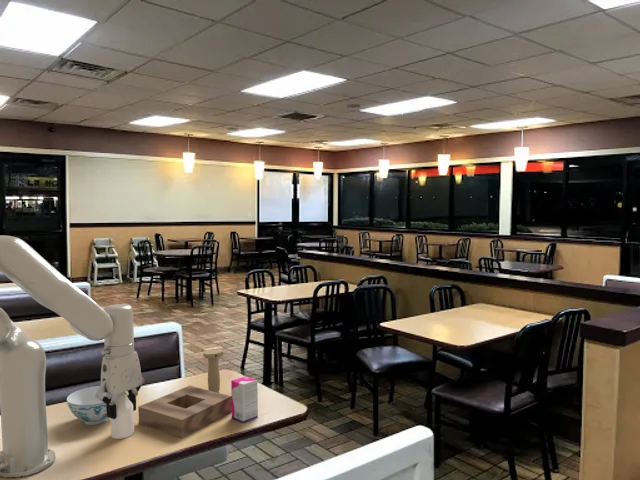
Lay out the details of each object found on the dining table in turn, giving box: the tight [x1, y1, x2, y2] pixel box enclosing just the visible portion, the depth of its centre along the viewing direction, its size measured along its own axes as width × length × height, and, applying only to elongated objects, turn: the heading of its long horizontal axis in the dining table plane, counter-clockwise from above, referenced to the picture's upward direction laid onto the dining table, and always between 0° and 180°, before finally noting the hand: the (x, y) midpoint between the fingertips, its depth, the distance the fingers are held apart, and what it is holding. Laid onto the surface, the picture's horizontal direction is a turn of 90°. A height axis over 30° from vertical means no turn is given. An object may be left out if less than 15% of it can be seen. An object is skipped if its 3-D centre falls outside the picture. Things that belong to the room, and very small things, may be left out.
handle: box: [202, 348, 224, 393], centre depth 168 cm, size 5×6×15 cm
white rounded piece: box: [110, 391, 135, 440], centre depth 140 cm, size 6×12×6 cm
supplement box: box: [230, 375, 259, 424], centre depth 150 cm, size 6×6×12 cm
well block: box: [137, 385, 232, 439], centre depth 151 cm, size 20×18×5 cm
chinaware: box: [66, 385, 118, 426], centre depth 150 cm, size 15×15×8 cm
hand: (121, 413), depth 140 cm, fingers closed on white rounded piece, 5 cm apart
